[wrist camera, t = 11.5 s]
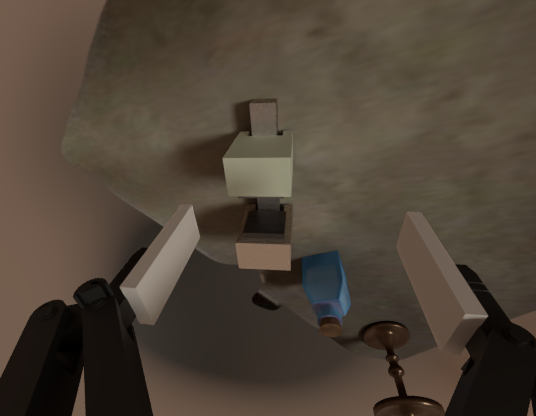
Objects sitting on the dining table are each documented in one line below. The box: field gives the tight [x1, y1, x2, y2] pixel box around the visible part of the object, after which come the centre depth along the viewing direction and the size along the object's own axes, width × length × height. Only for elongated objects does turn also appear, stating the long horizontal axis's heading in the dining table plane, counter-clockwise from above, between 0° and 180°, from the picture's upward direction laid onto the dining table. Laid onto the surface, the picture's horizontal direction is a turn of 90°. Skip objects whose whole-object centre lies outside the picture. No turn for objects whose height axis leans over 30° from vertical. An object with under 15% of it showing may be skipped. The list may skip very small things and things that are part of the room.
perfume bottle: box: [302, 251, 351, 337], centre depth 40 cm, size 6×6×12 cm
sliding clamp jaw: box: [223, 130, 293, 198], centre depth 30 cm, size 5×7×9 cm
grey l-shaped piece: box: [235, 99, 293, 271], centre depth 33 cm, size 22×7×10 cm, turn 3°
